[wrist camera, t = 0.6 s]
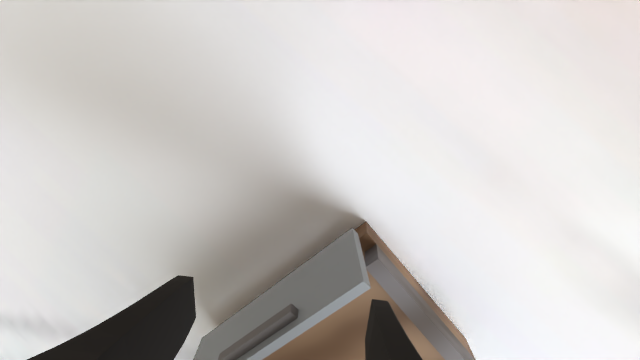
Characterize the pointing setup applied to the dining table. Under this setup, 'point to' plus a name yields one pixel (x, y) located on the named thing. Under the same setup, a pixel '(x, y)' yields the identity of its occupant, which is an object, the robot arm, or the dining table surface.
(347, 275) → the panel
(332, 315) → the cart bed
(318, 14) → the dining table surface
